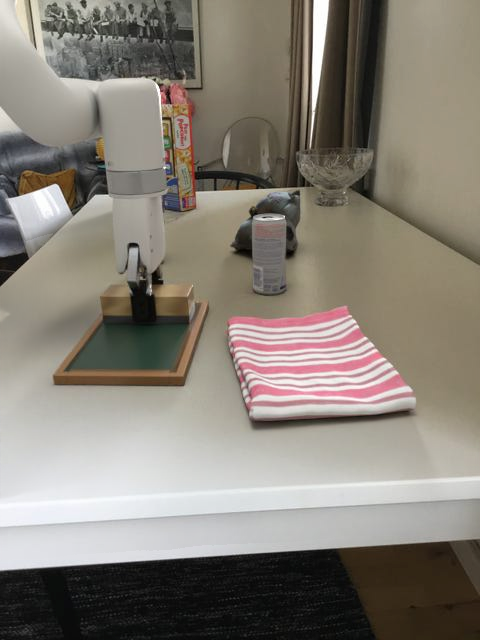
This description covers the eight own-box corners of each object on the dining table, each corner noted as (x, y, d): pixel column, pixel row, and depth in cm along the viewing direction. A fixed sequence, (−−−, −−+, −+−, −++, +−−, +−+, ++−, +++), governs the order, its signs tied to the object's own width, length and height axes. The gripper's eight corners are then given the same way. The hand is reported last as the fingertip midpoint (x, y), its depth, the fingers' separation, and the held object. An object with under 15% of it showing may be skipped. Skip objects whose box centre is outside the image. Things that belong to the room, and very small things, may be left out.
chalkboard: (54, 384, 65) (52, 375, 64) (112, 308, 87) (111, 300, 86) (183, 385, 64) (183, 376, 63) (209, 307, 86) (208, 300, 85)
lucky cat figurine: (221, 247, 117) (237, 183, 117) (271, 263, 122) (286, 201, 122) (252, 242, 103) (269, 169, 104) (307, 260, 108) (323, 190, 109)
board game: (197, 208, 156) (191, 103, 145) (180, 212, 151) (173, 104, 141) (151, 200, 169) (142, 103, 158) (134, 203, 165) (124, 104, 154)
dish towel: (347, 326, 78) (348, 302, 77) (418, 415, 56) (422, 385, 55) (224, 335, 76) (223, 311, 75) (250, 432, 55) (249, 401, 53)
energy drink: (281, 283, 95) (281, 212, 91) (289, 294, 90) (290, 219, 86) (250, 286, 94) (248, 214, 90) (256, 296, 90) (255, 221, 85)
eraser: (103, 323, 78) (99, 296, 76) (113, 310, 83) (110, 284, 81) (189, 324, 77) (187, 296, 75) (194, 310, 82) (193, 284, 80)
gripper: (125, 173, 81) (138, 293, 88) (87, 195, 65) (105, 338, 72) (177, 172, 80) (185, 293, 87) (151, 194, 64) (164, 339, 71)
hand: (149, 312), depth 79 cm, fingers closed on eraser, 5 cm apart
